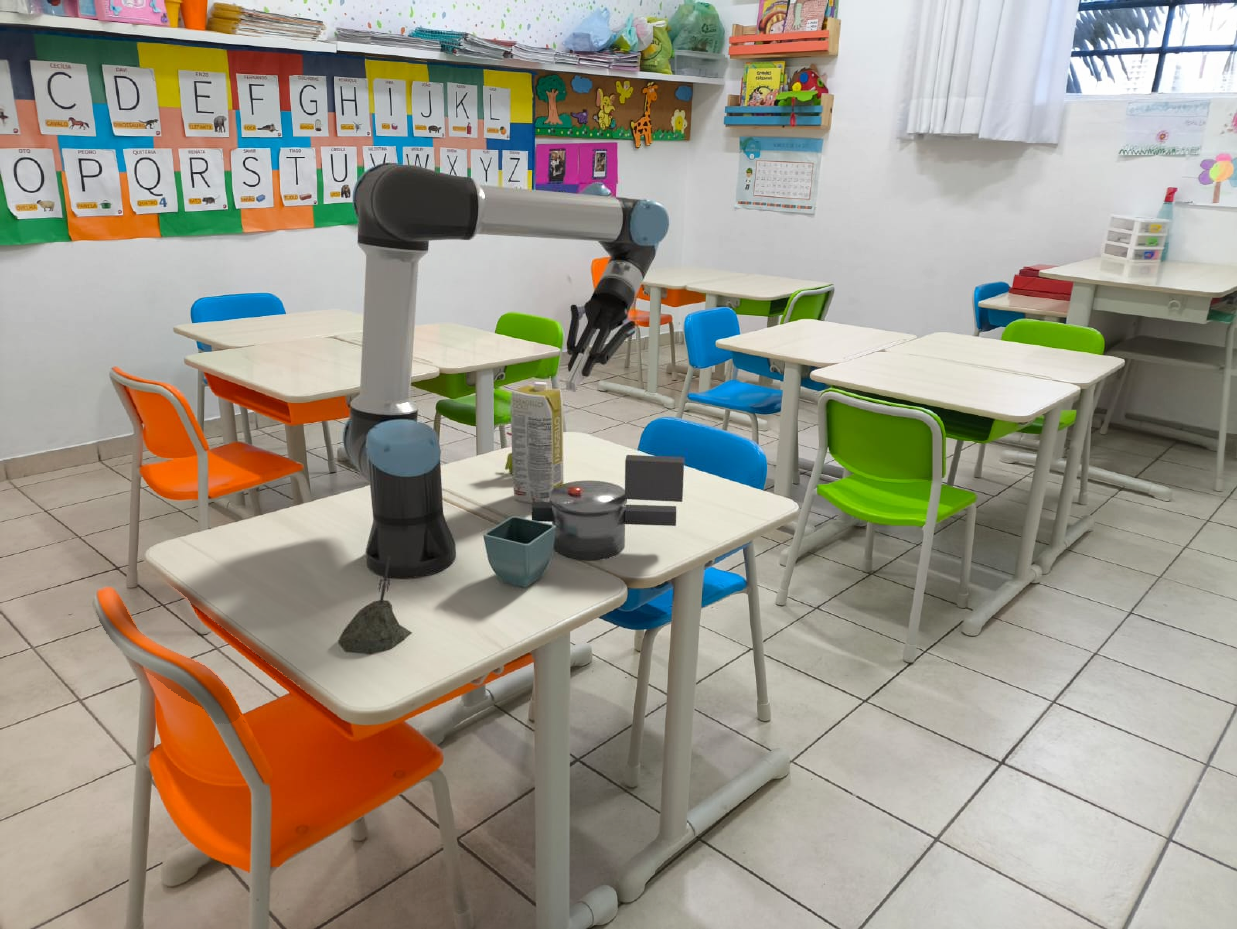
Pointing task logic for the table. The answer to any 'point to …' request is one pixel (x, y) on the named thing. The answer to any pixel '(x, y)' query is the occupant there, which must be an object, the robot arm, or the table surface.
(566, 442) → the table surface
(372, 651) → the sword in stone
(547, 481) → the juice carton
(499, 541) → the flower pot
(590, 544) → the pot
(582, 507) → the lid
